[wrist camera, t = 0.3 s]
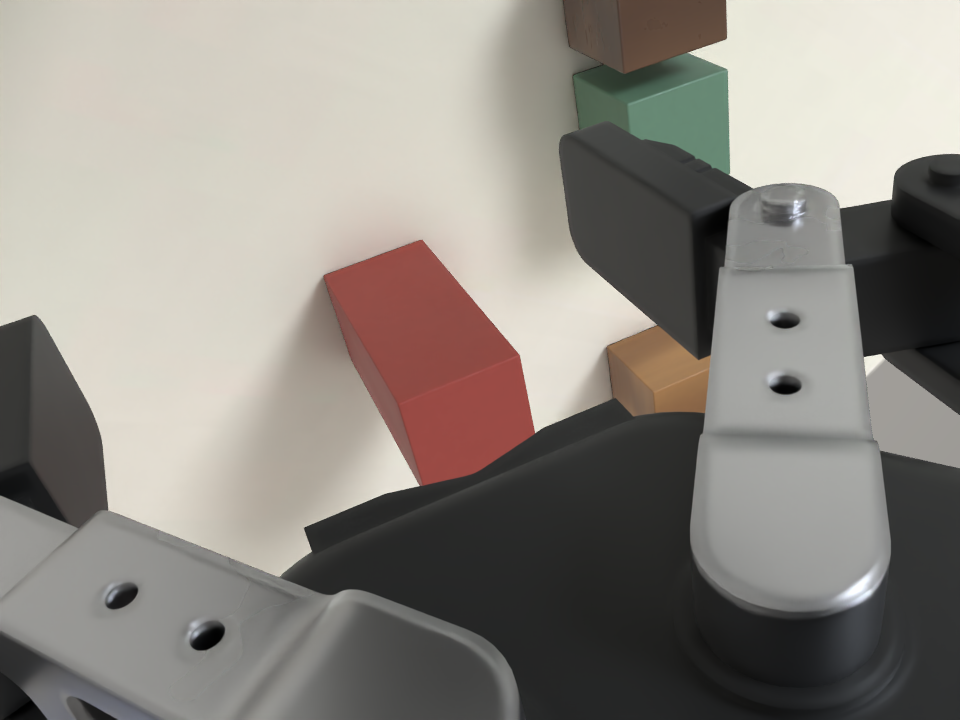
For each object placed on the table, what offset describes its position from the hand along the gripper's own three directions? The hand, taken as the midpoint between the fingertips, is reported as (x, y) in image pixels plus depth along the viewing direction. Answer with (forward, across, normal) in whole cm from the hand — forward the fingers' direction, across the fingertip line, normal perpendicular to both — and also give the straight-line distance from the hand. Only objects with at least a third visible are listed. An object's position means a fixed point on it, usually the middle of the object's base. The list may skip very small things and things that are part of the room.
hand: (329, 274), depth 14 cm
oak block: (+18, -15, +20) cm, 31 cm away
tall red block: (+18, -4, +12) cm, 22 cm away
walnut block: (+18, -15, +2) cm, 23 cm away
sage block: (+18, -15, +7) cm, 24 cm away
